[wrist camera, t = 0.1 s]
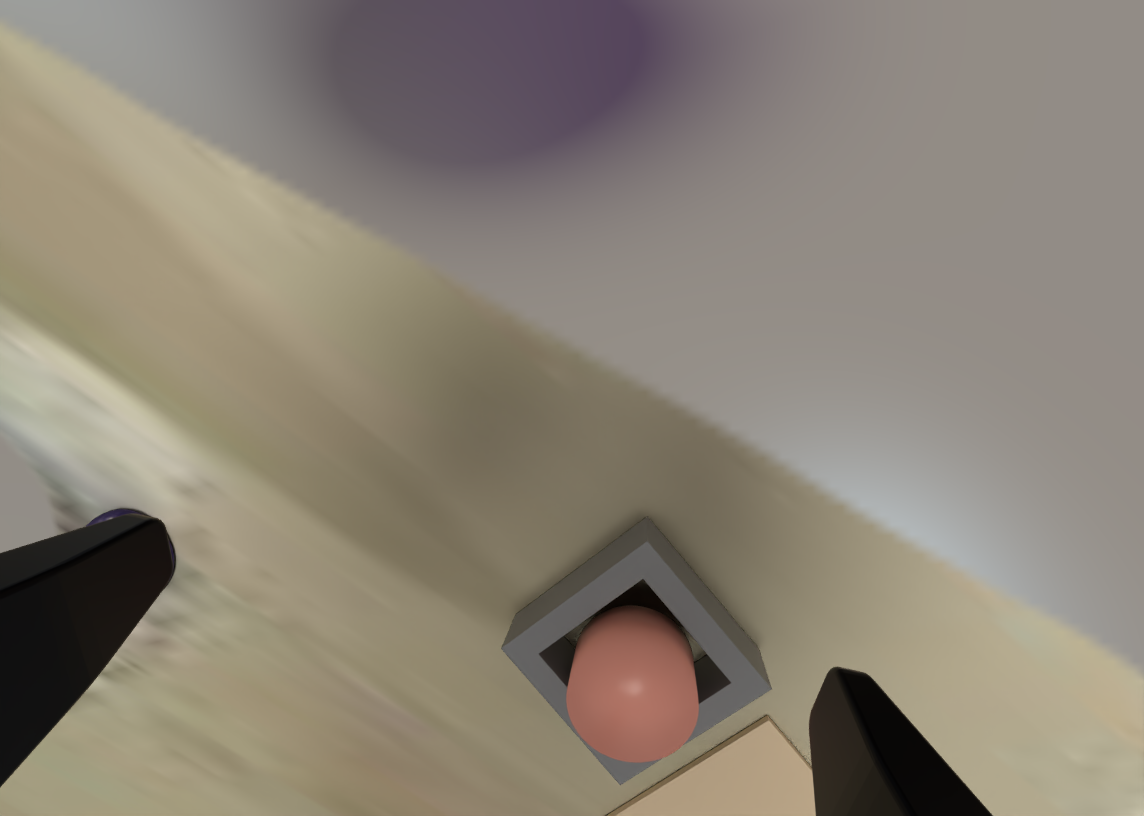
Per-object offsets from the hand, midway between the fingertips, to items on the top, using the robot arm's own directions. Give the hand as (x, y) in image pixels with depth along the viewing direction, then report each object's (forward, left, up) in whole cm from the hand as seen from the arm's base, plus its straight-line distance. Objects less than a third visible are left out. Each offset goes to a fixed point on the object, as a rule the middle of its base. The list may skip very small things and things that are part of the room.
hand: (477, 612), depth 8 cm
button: (-4, -8, -13) cm, 16 cm away
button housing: (-4, -8, -15) cm, 18 cm away
